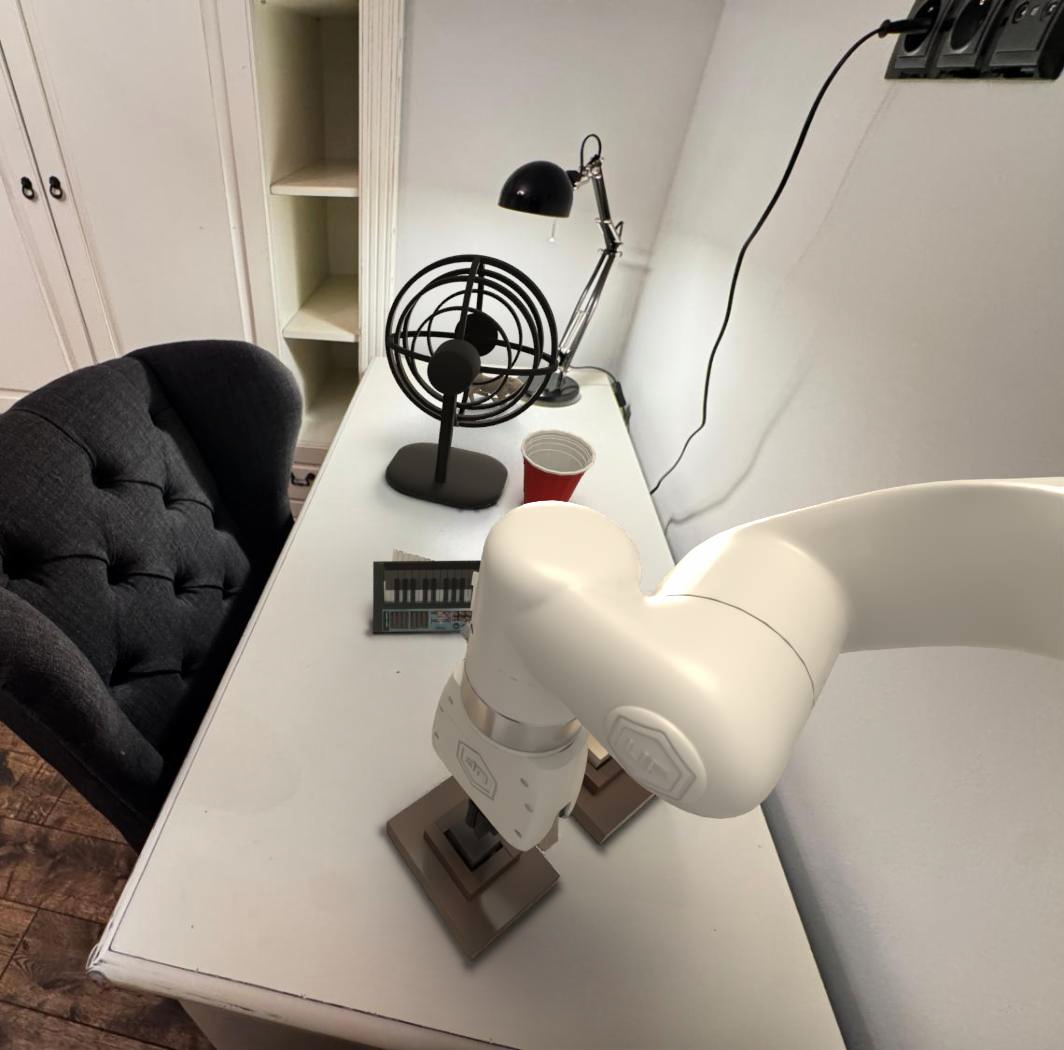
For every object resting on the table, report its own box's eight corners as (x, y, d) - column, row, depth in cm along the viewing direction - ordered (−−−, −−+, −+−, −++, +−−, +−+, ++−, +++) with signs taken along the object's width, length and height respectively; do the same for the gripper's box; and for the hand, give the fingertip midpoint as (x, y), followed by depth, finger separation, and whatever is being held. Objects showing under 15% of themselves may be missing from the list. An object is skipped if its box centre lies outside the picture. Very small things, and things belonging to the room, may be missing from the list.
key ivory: (616, 751, 56) (622, 742, 55) (595, 768, 55) (600, 759, 54) (590, 726, 58) (595, 717, 57) (569, 742, 57) (574, 733, 56)
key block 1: (555, 884, 51) (565, 868, 48) (470, 961, 46) (477, 947, 44) (465, 774, 58) (470, 755, 56) (385, 831, 54) (387, 812, 51)
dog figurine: (463, 405, 118) (468, 371, 113) (467, 392, 122) (472, 360, 118) (522, 413, 116) (529, 379, 111) (524, 400, 120) (531, 367, 115)
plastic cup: (508, 529, 88) (523, 465, 80) (506, 488, 96) (519, 426, 88) (581, 536, 87) (602, 472, 79) (572, 494, 95) (591, 432, 87)
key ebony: (498, 847, 50) (502, 838, 48) (471, 869, 48) (473, 861, 47) (474, 815, 52) (476, 806, 51) (447, 835, 50) (449, 827, 49)
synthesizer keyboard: (558, 555, 70) (555, 589, 62) (551, 625, 74) (547, 667, 65) (392, 537, 78) (367, 565, 69) (392, 601, 81) (369, 636, 72)
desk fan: (536, 466, 101) (586, 256, 79) (516, 524, 89) (569, 294, 66) (393, 434, 109) (402, 235, 87) (357, 484, 97) (356, 267, 74)
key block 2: (664, 786, 57) (678, 767, 55) (599, 845, 53) (611, 827, 51) (571, 699, 65) (580, 678, 62) (508, 744, 61) (514, 724, 58)
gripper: (401, 635, 38) (394, 771, 50) (579, 830, 28) (519, 943, 40) (484, 589, 41) (460, 728, 53) (670, 751, 31) (590, 877, 43)
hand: (485, 820), depth 46 cm, fingers closed
